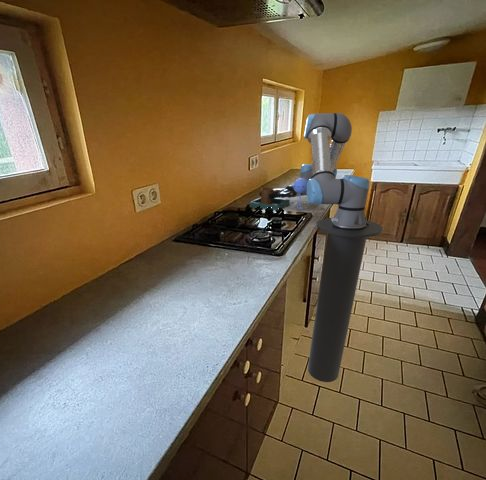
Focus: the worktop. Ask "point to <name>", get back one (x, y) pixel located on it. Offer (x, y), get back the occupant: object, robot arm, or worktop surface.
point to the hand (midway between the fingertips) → (264, 195)
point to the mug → (267, 195)
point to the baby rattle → (300, 188)
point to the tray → (276, 204)
